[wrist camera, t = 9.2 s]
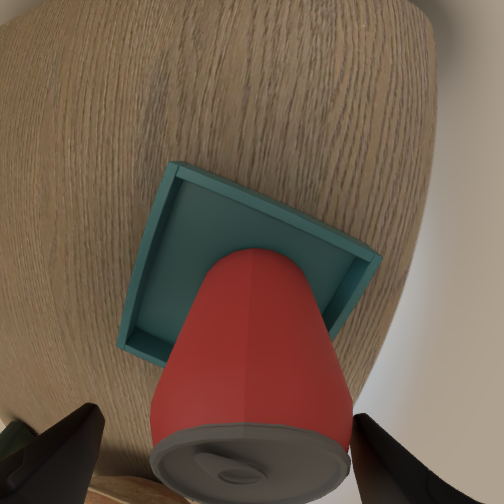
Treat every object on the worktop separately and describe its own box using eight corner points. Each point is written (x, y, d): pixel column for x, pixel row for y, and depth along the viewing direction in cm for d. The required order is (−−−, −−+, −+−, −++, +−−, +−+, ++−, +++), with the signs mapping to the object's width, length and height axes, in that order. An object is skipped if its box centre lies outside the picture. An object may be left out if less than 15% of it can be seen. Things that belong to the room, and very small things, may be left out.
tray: (367, 244, 17) (383, 257, 14) (280, 383, 20) (283, 406, 18) (181, 160, 15) (168, 161, 13) (128, 326, 19) (115, 346, 16)
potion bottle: (1, 410, 26) (-43, 474, 9) (29, 425, 26) (-17, 500, 8) (23, 439, 28) (-13, 501, 11) (52, 454, 28) (17, 524, 11)
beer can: (265, 221, 16) (282, 370, 4) (329, 304, 17) (398, 472, 6) (180, 287, 17) (90, 449, 6) (247, 356, 18) (236, 523, 7)
